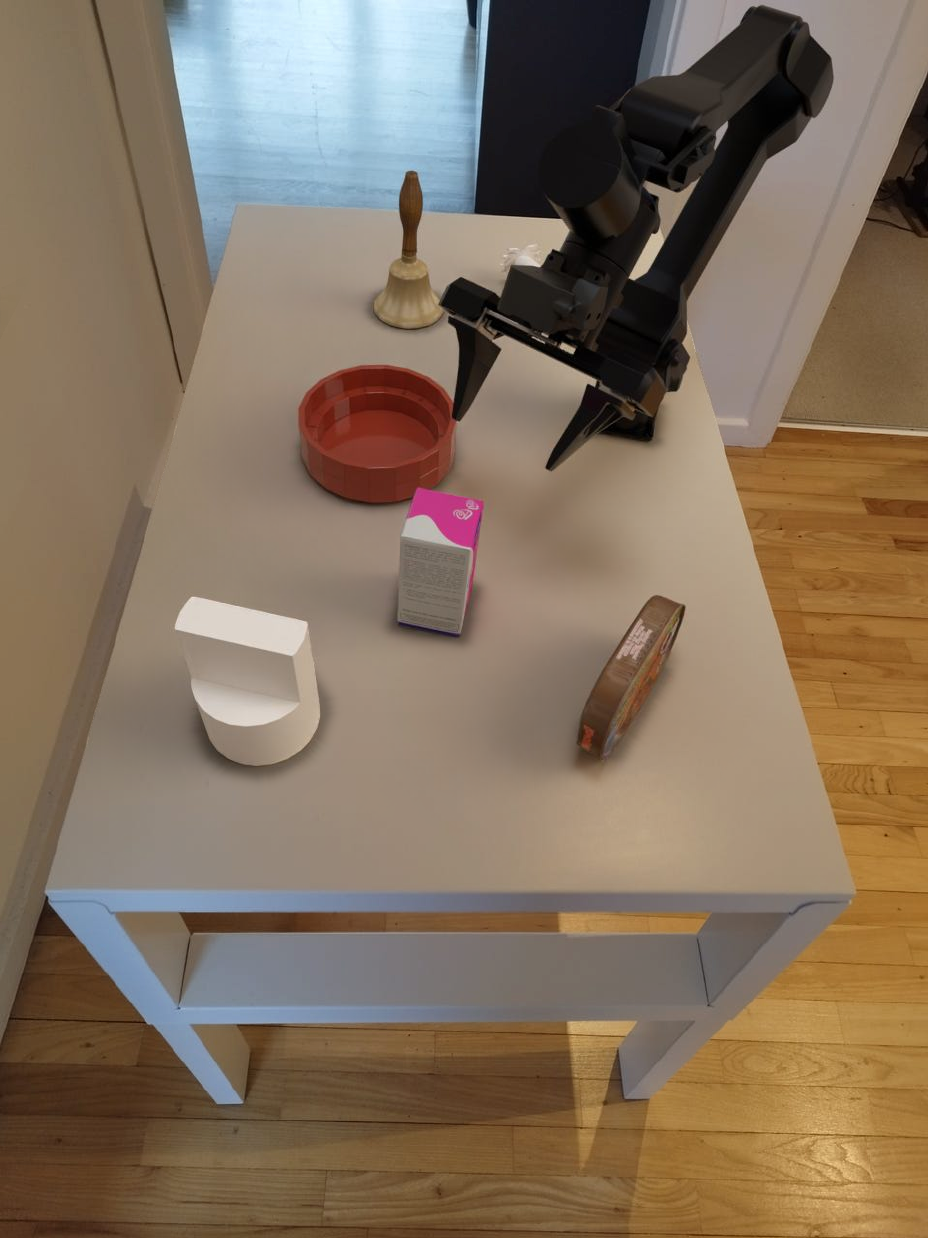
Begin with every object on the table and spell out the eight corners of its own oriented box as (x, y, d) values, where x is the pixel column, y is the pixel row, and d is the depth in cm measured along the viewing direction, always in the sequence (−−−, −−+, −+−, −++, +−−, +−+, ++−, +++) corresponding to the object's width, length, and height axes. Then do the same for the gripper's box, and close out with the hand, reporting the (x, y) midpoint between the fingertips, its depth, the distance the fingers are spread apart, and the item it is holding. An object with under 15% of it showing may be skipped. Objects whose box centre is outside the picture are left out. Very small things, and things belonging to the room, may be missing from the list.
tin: (597, 780, 68) (618, 725, 62) (561, 760, 69) (578, 703, 62) (674, 649, 76) (700, 588, 70) (641, 632, 77) (664, 570, 70)
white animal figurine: (493, 276, 110) (496, 240, 106) (532, 270, 111) (536, 233, 107) (532, 332, 103) (537, 295, 99) (572, 324, 104) (579, 287, 101)
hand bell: (402, 280, 108) (402, 146, 95) (457, 306, 105) (464, 172, 93) (358, 310, 104) (353, 174, 91) (414, 338, 101) (416, 202, 88)
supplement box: (462, 639, 76) (470, 551, 66) (395, 626, 76) (394, 536, 67) (475, 588, 79) (485, 498, 70) (411, 576, 80) (412, 484, 70)
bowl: (466, 417, 93) (469, 378, 89) (435, 518, 84) (437, 480, 80) (328, 392, 94) (325, 353, 90) (282, 490, 85) (276, 451, 81)
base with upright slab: (335, 681, 72) (325, 590, 63) (298, 777, 67) (281, 693, 57) (231, 658, 73) (205, 564, 64) (186, 751, 68) (151, 663, 58)
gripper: (458, 173, 63) (363, 372, 67) (686, 269, 57) (571, 484, 61) (509, 233, 74) (425, 403, 77) (708, 320, 68) (608, 501, 71)
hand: (500, 444), depth 71 cm, fingers open, 9 cm apart
